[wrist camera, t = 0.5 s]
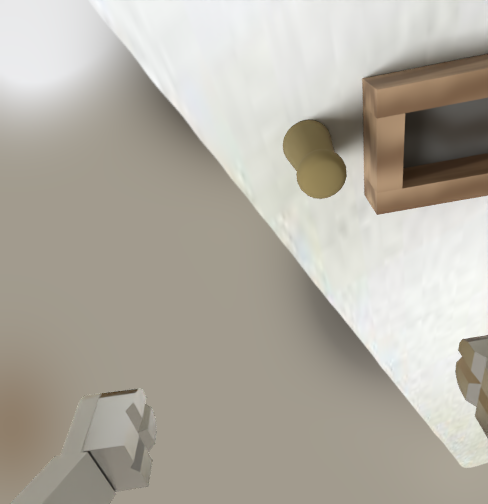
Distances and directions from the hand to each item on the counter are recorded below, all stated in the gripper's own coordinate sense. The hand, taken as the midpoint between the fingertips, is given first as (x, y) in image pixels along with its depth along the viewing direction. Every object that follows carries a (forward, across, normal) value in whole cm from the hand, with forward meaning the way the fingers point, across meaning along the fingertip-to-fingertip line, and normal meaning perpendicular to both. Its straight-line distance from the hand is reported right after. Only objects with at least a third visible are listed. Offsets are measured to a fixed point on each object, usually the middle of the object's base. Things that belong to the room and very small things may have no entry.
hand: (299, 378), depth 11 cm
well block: (+43, -23, +11) cm, 50 cm away
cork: (+43, -6, +10) cm, 45 cm away
